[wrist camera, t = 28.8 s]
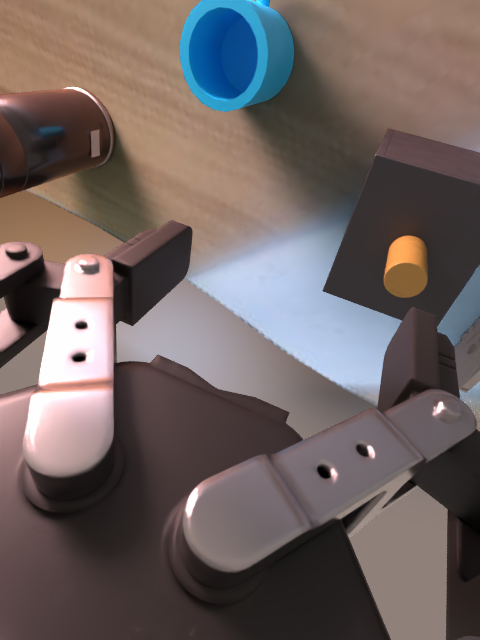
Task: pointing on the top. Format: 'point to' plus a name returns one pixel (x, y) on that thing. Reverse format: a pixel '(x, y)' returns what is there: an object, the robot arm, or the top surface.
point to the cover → (411, 229)
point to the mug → (235, 53)
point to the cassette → (468, 358)
